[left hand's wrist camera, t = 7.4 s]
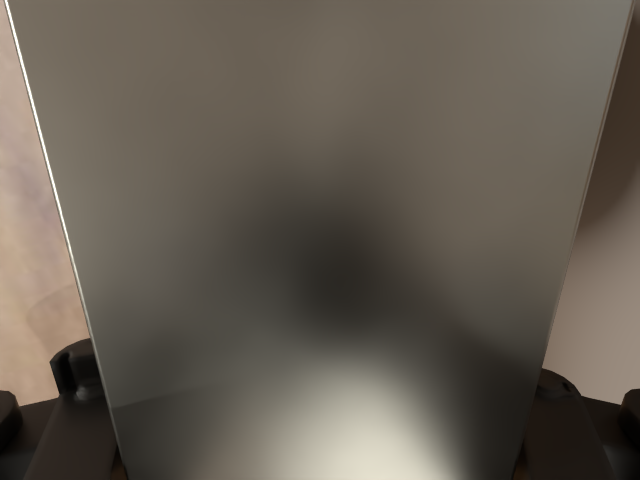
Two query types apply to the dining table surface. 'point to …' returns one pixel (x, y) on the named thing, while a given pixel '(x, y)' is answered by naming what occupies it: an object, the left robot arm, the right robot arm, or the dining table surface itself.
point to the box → (319, 220)
